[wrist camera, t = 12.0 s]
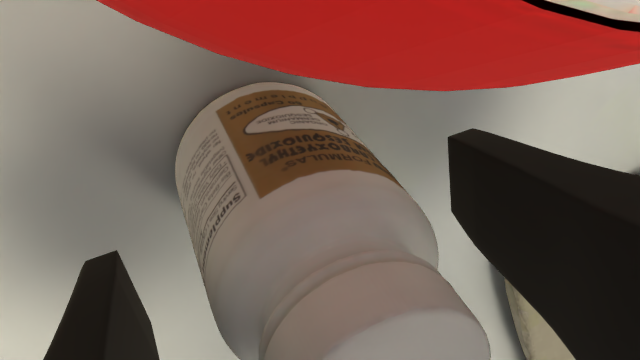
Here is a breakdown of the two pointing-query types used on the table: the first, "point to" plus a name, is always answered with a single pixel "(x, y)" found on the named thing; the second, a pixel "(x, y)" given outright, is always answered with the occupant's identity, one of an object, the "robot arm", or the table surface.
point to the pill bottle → (312, 238)
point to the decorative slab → (534, 330)
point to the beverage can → (408, 38)
